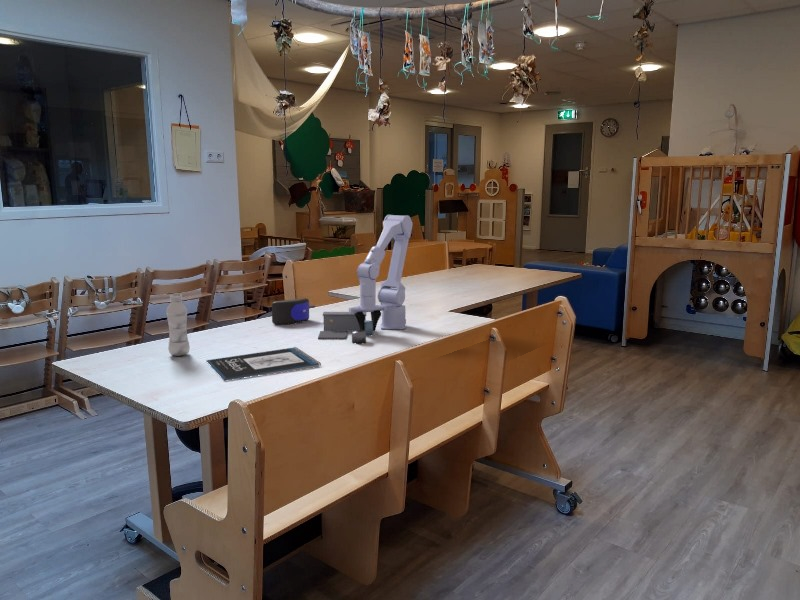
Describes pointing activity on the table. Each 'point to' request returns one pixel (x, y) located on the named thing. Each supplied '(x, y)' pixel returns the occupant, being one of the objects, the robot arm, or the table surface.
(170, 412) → the table surface
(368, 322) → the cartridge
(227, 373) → the sketchbook
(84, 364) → the table surface
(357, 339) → the cap
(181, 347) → the plastic bottle
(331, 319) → the block
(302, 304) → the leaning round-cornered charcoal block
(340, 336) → the mat
